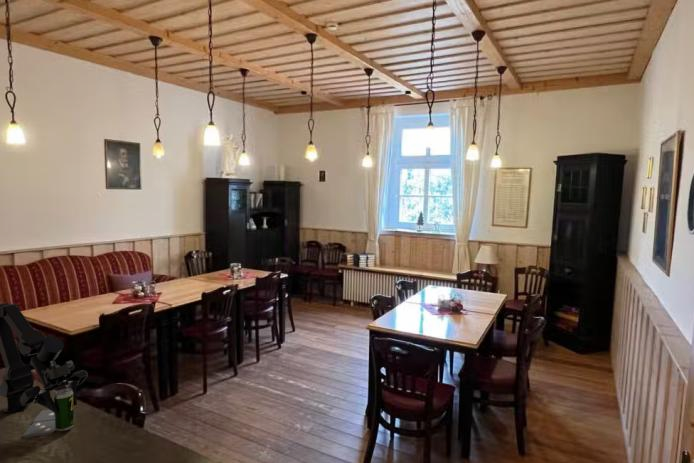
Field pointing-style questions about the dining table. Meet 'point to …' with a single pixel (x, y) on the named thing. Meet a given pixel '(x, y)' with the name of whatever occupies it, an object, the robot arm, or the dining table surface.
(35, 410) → the dining table surface
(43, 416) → the one-dot tile
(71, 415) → the beer can
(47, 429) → the three-dot tile
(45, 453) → the dining table surface
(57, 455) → the dining table surface
